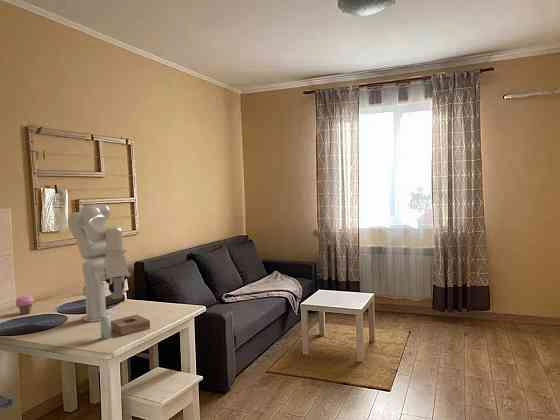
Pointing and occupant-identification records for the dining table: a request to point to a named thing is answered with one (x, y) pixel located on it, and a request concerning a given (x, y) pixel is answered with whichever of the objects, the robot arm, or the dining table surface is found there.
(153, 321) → the dining table surface
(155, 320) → the dining table surface
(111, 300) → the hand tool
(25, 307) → the cupcake
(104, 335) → the round peg
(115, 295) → the square peg
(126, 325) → the socket block
